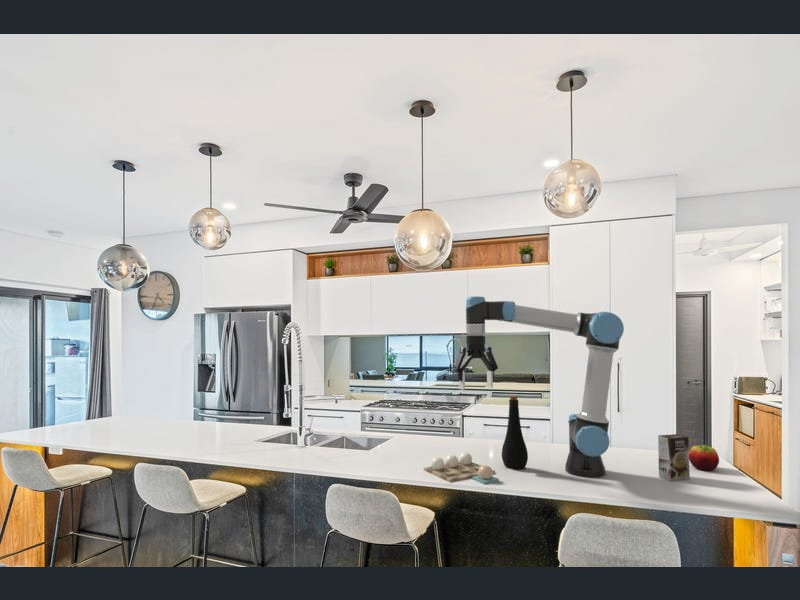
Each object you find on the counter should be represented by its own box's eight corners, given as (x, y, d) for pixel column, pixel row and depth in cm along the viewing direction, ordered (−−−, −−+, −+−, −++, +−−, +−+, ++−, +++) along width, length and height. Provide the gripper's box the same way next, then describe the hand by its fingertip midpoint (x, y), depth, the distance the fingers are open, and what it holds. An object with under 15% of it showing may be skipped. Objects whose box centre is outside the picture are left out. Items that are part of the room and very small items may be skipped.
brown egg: (495, 481, 186) (495, 466, 186) (484, 483, 183) (484, 468, 183) (486, 477, 190) (486, 462, 191) (475, 479, 188) (474, 464, 188)
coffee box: (671, 481, 187) (670, 438, 188) (658, 476, 194) (657, 434, 194) (690, 479, 190) (689, 436, 191) (677, 474, 196) (675, 433, 197)
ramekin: (498, 484, 185) (498, 478, 185) (484, 487, 182) (484, 481, 182) (486, 479, 191) (486, 474, 192) (472, 482, 188) (472, 476, 188)
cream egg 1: (447, 471, 198) (446, 457, 198) (435, 473, 195) (435, 459, 195) (439, 468, 203) (439, 454, 203) (428, 470, 200) (427, 456, 200)
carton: (467, 465, 211) (467, 460, 211) (495, 476, 195) (495, 470, 196) (423, 472, 200) (423, 467, 200) (449, 485, 185) (449, 479, 185)
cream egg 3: (474, 466, 205) (474, 453, 205) (464, 468, 202) (464, 454, 202) (466, 463, 209) (466, 450, 210) (456, 465, 207) (456, 452, 207)
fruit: (719, 467, 205) (718, 443, 206) (720, 474, 196) (719, 448, 197) (689, 464, 211) (688, 440, 211) (688, 470, 201) (688, 445, 202)
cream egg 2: (461, 469, 201) (461, 455, 202) (450, 471, 199) (450, 457, 199) (453, 465, 206) (453, 452, 206) (442, 467, 203) (442, 454, 204)
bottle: (496, 467, 208) (495, 395, 209) (518, 464, 211) (517, 393, 213) (511, 474, 198) (509, 398, 199) (533, 471, 201) (532, 397, 203)
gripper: (494, 334, 208) (495, 385, 207) (444, 335, 196) (444, 389, 195) (506, 334, 201) (506, 387, 200) (455, 335, 190) (455, 391, 189)
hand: (476, 388), depth 198 cm, fingers open, 13 cm apart
